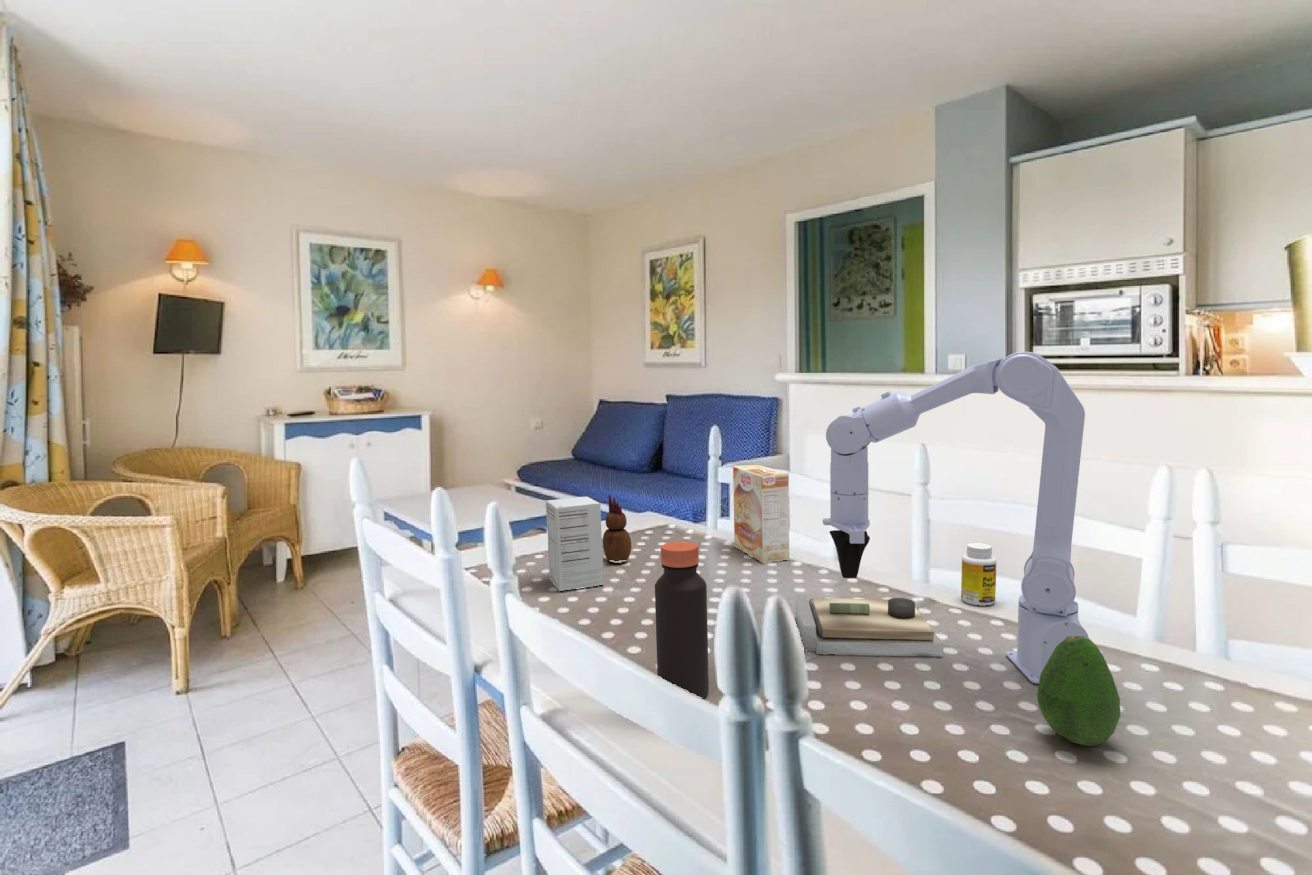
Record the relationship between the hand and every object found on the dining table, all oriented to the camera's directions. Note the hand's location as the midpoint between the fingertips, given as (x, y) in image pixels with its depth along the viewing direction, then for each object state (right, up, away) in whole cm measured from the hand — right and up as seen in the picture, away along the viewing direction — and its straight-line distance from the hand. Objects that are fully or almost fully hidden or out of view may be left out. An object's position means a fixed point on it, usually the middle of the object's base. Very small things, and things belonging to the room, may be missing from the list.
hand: (849, 576), depth 109 cm
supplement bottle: (+27, -7, +14) cm, 31 cm away
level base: (+3, -9, +1) cm, 10 cm away
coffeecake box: (-7, -5, +49) cm, 49 cm away
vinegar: (-27, -12, -17) cm, 34 cm away
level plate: (+3, -7, 0) cm, 8 cm away
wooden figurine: (-39, -6, +45) cm, 60 cm away
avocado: (+17, -13, -31) cm, 37 cm away
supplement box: (-47, -8, +31) cm, 57 cm away
